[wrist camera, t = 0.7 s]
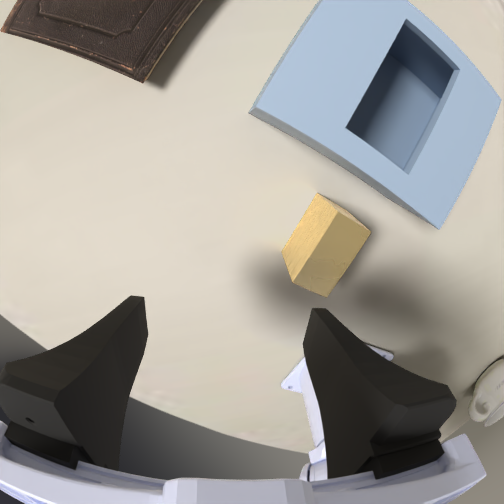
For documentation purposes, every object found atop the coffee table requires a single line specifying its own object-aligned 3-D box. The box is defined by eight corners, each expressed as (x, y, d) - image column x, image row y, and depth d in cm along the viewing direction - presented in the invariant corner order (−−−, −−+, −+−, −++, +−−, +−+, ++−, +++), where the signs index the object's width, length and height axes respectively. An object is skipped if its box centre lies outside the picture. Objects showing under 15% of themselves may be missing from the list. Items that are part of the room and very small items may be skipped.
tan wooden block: (345, 209, 21) (371, 232, 17) (310, 265, 22) (326, 297, 18) (316, 192, 20) (338, 211, 16) (281, 251, 22) (292, 282, 18)
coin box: (444, 97, 17) (501, 99, 11) (389, 199, 20) (439, 229, 14) (318, 1, 14) (350, -39, 8) (248, 113, 17) (255, 106, 12)
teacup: (519, 346, 32) (542, 374, 25) (487, 391, 36) (506, 420, 29) (478, 353, 30) (507, 390, 23) (442, 404, 34) (462, 440, 27)
